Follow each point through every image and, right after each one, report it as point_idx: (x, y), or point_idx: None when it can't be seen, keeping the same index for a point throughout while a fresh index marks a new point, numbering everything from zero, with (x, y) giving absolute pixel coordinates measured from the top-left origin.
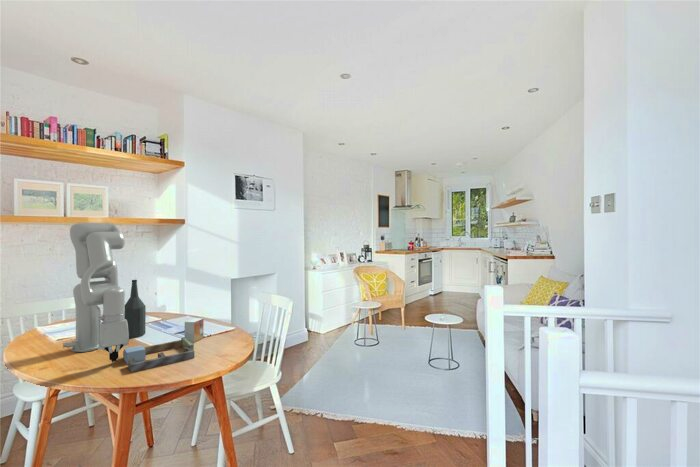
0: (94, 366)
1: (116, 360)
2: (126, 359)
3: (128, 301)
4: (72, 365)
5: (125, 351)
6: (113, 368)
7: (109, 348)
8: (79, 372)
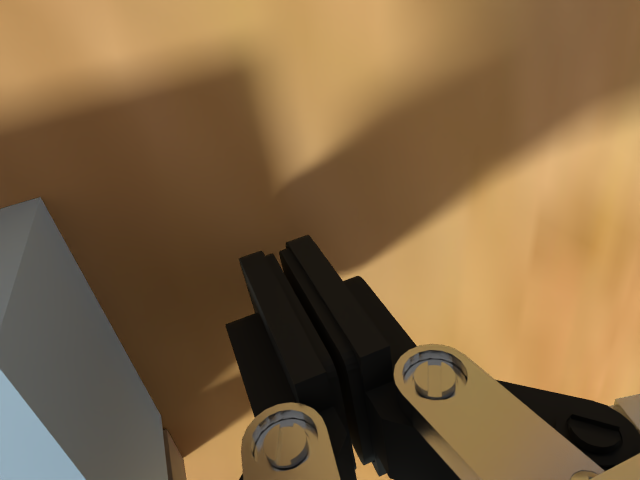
0: (480, 252)
1: (244, 263)
2: (38, 259)
3: None
4: (615, 335)
5: (94, 476)
6: (248, 47)
7: (534, 440)
8: (629, 101)
